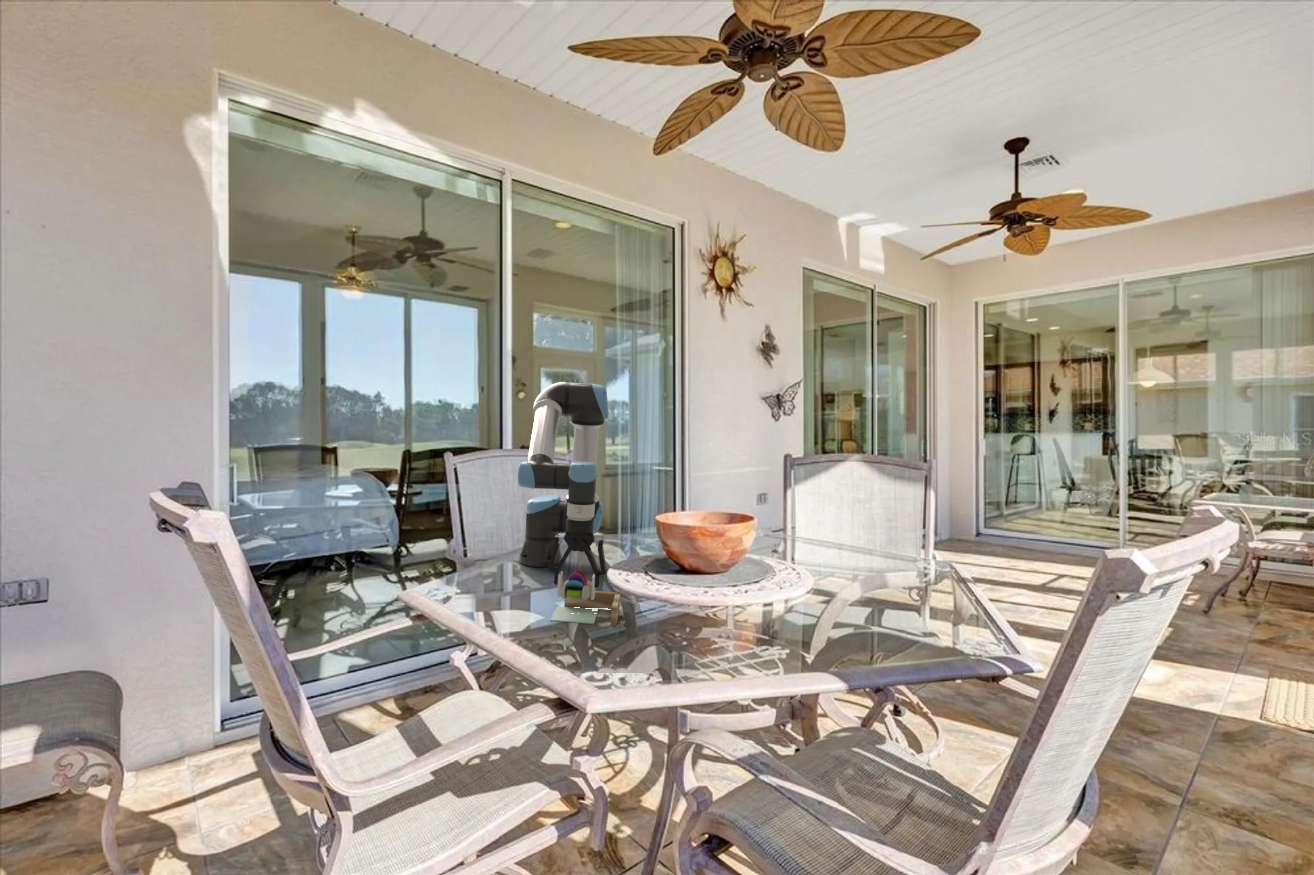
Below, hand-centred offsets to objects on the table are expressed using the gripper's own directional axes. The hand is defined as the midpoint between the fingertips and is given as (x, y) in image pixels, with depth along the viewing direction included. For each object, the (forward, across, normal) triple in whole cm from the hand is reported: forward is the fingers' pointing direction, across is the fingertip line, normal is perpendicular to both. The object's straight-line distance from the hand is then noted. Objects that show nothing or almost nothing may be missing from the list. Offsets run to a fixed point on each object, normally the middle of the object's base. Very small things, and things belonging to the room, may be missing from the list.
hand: (576, 596), depth 173 cm
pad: (+5, 0, 0) cm, 5 cm away
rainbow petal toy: (0, 0, 0) cm, 0 cm away
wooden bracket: (+5, +4, +1) cm, 7 cm away
